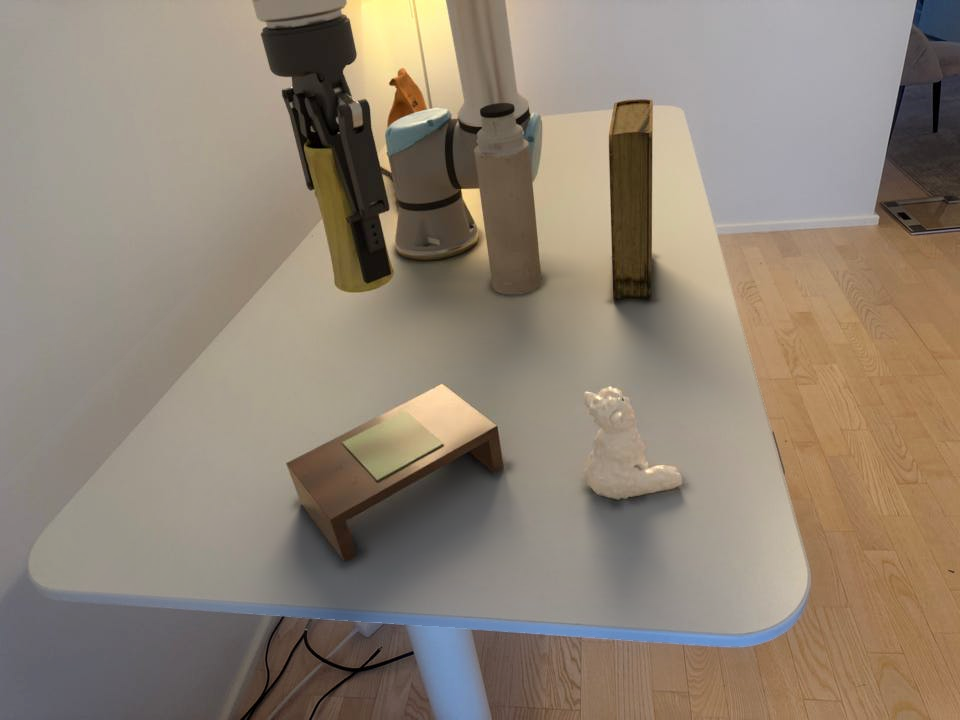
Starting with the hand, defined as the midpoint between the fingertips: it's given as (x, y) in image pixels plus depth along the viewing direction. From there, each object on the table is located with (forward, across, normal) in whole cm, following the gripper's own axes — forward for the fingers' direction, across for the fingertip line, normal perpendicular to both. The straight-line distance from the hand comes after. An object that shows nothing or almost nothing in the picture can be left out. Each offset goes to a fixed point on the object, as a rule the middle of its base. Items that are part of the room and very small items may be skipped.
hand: (362, 267), depth 73 cm
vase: (+2, 0, 0) cm, 2 cm away
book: (+23, -10, +48) cm, 54 cm away
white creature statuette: (+24, +22, +14) cm, 35 cm away
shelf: (+24, +6, -4) cm, 25 cm away
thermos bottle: (+23, -22, +34) cm, 47 cm away
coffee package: (+23, -86, +53) cm, 103 cm away
